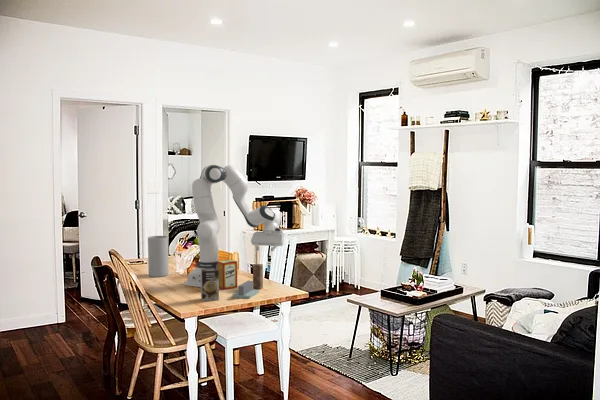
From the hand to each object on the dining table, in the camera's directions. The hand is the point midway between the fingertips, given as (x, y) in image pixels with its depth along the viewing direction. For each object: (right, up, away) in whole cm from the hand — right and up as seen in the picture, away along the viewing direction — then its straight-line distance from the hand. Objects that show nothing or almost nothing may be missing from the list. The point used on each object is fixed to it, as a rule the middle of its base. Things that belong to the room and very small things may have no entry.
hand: (264, 250), depth 329 cm
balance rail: (-9, -22, -24) cm, 34 cm away
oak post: (-3, -21, -9) cm, 23 cm away
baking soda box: (-21, -21, -7) cm, 31 cm away
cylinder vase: (-70, -19, +27) cm, 78 cm away
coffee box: (-27, -23, -33) cm, 49 cm away
